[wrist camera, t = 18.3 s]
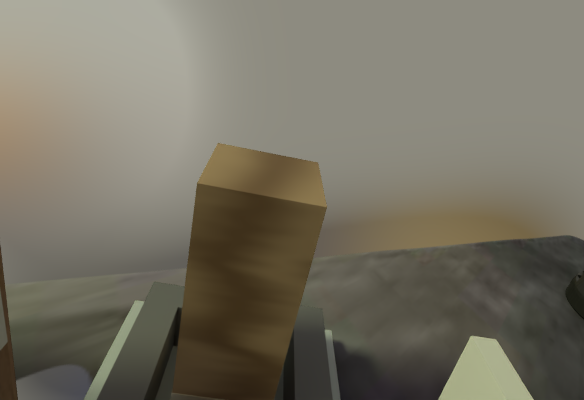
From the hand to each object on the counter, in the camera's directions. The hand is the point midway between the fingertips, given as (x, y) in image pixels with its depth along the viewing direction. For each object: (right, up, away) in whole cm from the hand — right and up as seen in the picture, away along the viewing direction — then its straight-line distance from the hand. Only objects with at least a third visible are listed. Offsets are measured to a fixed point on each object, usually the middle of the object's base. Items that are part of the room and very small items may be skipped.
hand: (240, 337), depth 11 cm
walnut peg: (-4, -11, +17) cm, 20 cm away
